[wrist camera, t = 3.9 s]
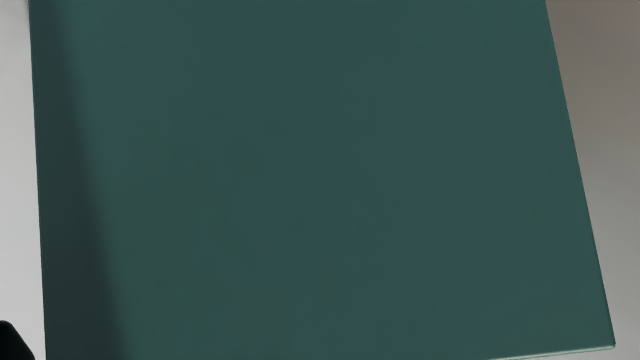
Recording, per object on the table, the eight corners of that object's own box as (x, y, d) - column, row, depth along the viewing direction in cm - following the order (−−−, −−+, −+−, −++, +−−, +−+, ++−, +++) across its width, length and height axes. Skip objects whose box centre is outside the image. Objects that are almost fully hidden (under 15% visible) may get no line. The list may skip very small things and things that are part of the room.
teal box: (495, 306, 17) (619, 348, 7) (247, 336, 18) (46, 413, 8) (442, 2, 18) (480, -314, 8) (217, 43, 19) (16, -202, 9)
